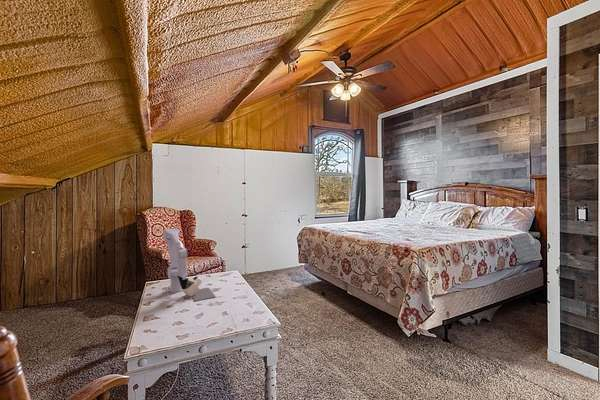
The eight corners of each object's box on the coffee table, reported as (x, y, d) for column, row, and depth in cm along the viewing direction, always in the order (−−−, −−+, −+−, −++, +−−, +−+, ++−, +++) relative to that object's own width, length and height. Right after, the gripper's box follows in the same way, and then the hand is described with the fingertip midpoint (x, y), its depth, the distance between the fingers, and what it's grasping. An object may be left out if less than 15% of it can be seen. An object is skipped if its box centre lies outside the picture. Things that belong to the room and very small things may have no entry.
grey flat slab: (189, 291, 194) (189, 291, 193) (208, 288, 200) (208, 287, 200) (194, 301, 176) (194, 300, 176) (215, 297, 183) (215, 296, 183)
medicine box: (180, 287, 185) (193, 274, 193) (185, 294, 188) (198, 281, 196) (186, 290, 180) (199, 276, 188) (191, 297, 184) (204, 283, 192)
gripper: (174, 265, 189) (175, 285, 189) (177, 270, 176) (177, 291, 177) (185, 264, 192) (186, 283, 193) (189, 269, 180) (189, 289, 180)
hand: (183, 287), depth 185 cm, fingers open, 7 cm apart
